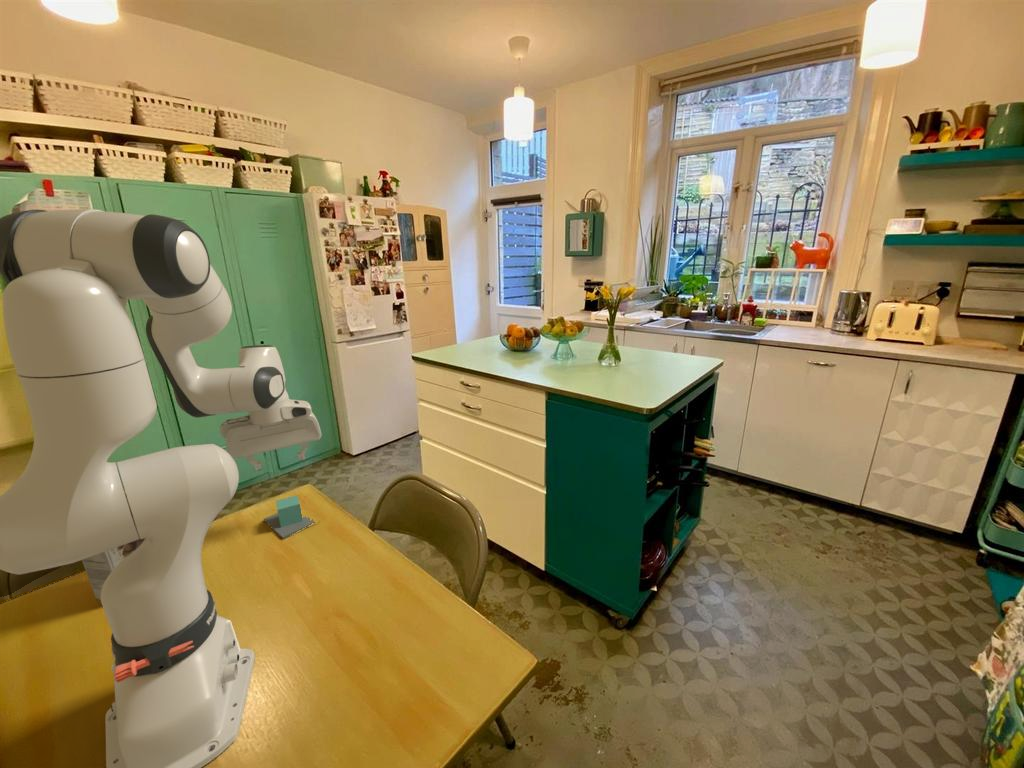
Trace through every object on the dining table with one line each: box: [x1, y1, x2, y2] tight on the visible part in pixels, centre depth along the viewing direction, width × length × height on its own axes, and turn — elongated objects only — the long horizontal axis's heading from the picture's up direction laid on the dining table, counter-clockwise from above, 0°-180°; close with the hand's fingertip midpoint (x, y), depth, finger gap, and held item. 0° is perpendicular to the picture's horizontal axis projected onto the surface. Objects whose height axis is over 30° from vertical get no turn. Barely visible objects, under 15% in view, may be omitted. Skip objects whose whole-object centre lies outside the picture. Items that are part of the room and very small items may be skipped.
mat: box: [263, 512, 315, 539], centre depth 109 cm, size 12×9×1 cm
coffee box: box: [81, 508, 145, 601], centre depth 86 cm, size 9×6×16 cm
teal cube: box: [275, 494, 303, 527], centre depth 108 cm, size 5×5×5 cm
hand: (280, 464), depth 104 cm, fingers open, 8 cm apart
